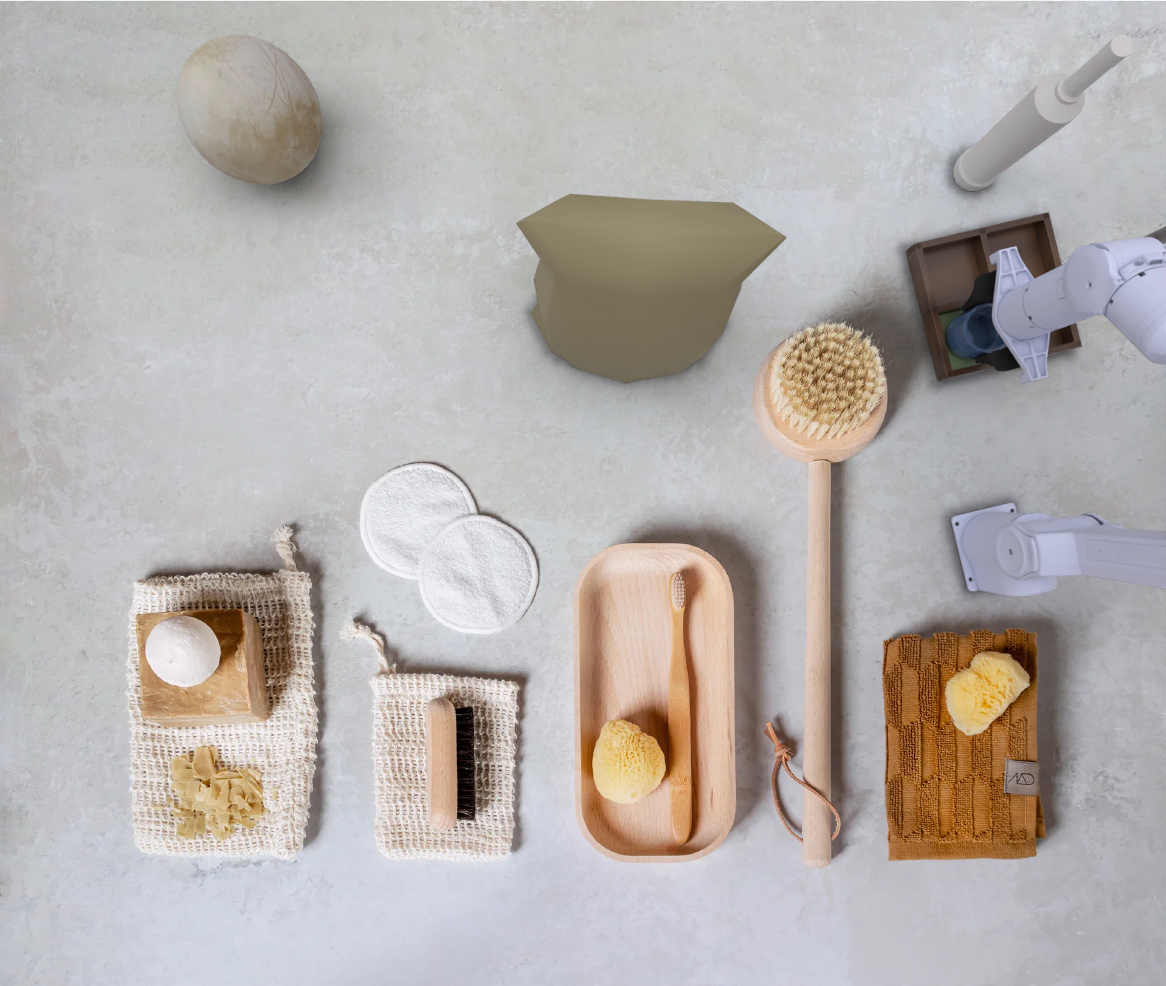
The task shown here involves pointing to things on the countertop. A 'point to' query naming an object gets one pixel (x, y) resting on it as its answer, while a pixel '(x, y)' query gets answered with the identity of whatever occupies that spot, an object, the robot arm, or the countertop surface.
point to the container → (640, 279)
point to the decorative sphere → (249, 109)
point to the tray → (959, 260)
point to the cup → (974, 333)
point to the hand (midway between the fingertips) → (976, 333)
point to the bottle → (1035, 118)
